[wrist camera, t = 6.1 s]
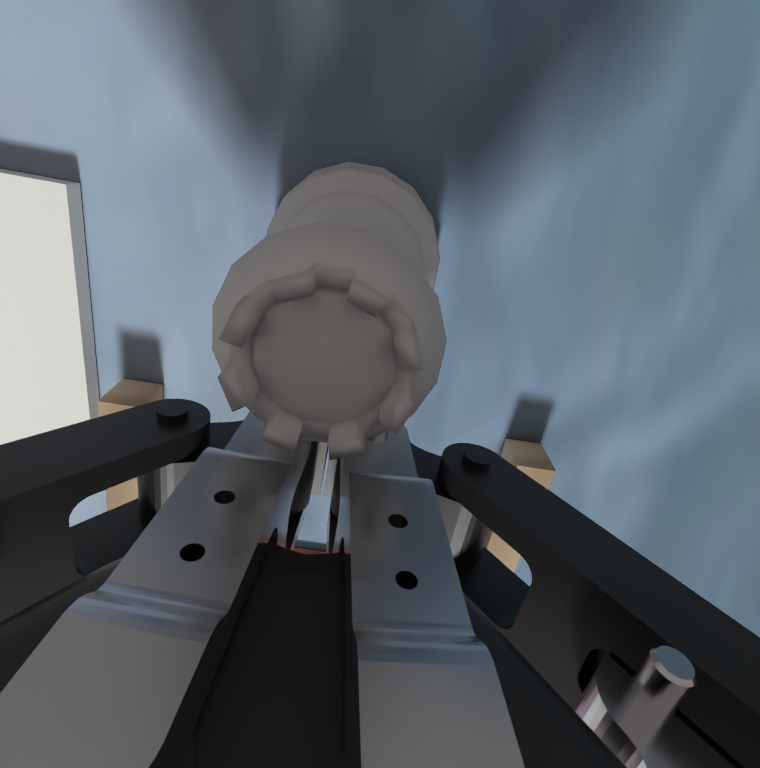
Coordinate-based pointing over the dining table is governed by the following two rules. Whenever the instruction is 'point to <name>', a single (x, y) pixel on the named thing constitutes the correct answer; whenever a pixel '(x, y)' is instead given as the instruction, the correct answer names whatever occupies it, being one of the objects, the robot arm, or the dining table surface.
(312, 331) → the rook chess piece
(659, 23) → the dining table surface
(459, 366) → the dining table surface
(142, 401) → the wooden u-shaped frame
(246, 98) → the dining table surface
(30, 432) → the tile
